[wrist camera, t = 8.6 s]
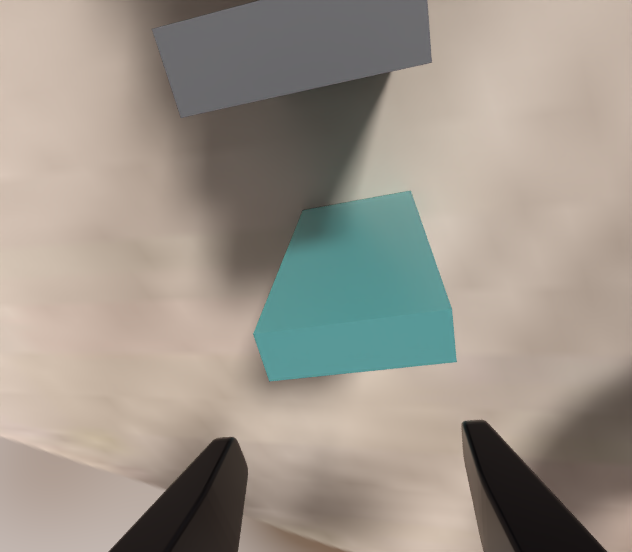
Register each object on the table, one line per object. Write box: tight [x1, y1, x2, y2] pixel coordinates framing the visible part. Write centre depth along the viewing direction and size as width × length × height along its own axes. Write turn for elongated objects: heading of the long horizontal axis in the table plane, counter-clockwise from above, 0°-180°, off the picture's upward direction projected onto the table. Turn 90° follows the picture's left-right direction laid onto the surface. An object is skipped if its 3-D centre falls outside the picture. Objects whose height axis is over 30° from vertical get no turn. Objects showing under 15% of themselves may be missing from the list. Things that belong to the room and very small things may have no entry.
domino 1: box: [152, 0, 432, 118], centre depth 12 cm, size 2×5×10 cm, turn 102°
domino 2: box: [253, 191, 457, 381], centre depth 15 cm, size 2×5×10 cm, turn 102°
